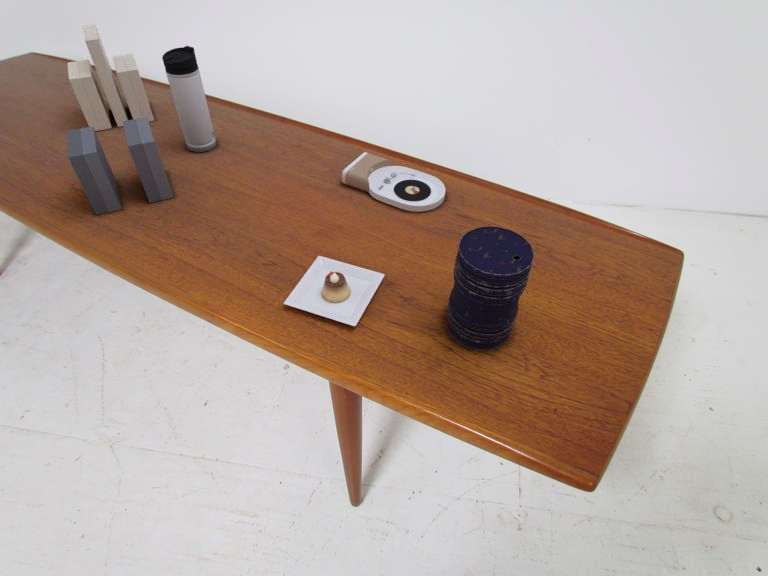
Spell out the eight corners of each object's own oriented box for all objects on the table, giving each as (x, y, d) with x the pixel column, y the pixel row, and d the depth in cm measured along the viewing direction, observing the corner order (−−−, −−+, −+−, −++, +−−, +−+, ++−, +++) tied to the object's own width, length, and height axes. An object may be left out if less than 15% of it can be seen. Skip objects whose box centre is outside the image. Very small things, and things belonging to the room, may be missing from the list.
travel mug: (223, 142, 111) (202, 49, 97) (202, 155, 107) (176, 60, 93) (203, 135, 114) (179, 42, 99) (181, 147, 110) (153, 53, 95)
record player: (368, 148, 105) (455, 176, 98) (368, 161, 107) (453, 189, 100) (338, 174, 98) (430, 206, 91) (339, 187, 100) (428, 219, 93)
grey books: (96, 215, 92) (68, 157, 83) (92, 187, 98) (66, 130, 90) (173, 197, 96) (154, 141, 88) (165, 172, 103) (147, 116, 94)
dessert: (319, 260, 84) (317, 238, 81) (385, 279, 81) (385, 257, 78) (283, 308, 76) (279, 286, 73) (355, 331, 73) (354, 309, 70)
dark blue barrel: (433, 331, 74) (444, 255, 63) (463, 292, 80) (478, 217, 69) (494, 362, 70) (517, 286, 59) (521, 319, 76) (546, 243, 65)
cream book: (117, 127, 115) (84, 40, 102) (114, 109, 122) (82, 25, 108) (129, 125, 116) (98, 38, 103) (125, 107, 123) (95, 23, 109)
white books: (91, 131, 114) (68, 79, 105) (88, 113, 120) (67, 62, 111) (154, 120, 118) (137, 69, 110) (148, 103, 124) (132, 53, 116)
